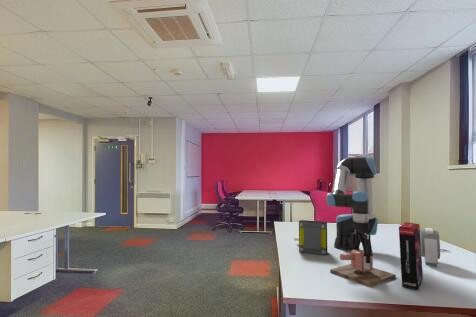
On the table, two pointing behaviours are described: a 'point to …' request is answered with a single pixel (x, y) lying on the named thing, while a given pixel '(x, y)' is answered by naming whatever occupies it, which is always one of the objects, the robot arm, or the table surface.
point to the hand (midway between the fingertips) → (361, 265)
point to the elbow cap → (357, 260)
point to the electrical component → (313, 237)
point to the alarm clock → (430, 246)
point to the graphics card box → (410, 255)
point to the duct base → (363, 275)
